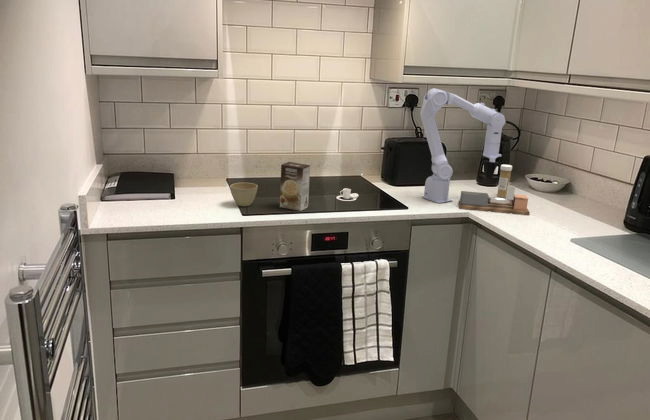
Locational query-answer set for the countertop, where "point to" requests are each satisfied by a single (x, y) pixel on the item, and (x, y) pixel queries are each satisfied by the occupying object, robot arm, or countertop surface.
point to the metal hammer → (504, 201)
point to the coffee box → (294, 186)
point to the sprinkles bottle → (504, 180)
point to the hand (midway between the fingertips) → (487, 176)
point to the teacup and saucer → (347, 195)
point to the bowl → (243, 193)
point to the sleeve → (474, 199)
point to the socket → (520, 202)
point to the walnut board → (495, 209)
